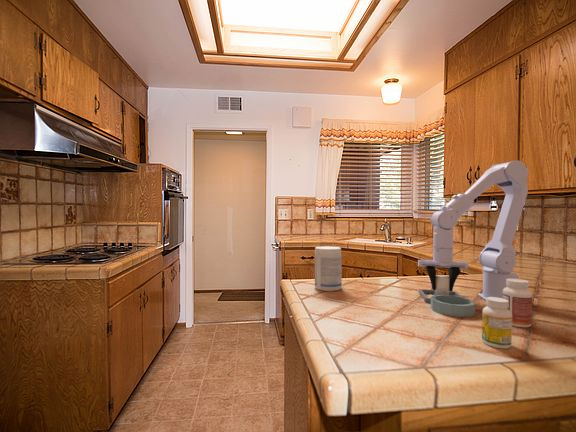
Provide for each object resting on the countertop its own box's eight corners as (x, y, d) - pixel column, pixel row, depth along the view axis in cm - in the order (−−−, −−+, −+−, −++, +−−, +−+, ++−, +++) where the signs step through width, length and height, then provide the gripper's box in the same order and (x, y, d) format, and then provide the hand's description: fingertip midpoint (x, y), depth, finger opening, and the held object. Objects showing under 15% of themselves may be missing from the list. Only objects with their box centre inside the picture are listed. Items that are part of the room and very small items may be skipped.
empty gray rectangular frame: (456, 294, 108) (456, 291, 108) (468, 305, 96) (468, 301, 96) (418, 292, 111) (418, 288, 111) (425, 302, 99) (425, 298, 99)
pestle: (447, 293, 105) (447, 275, 105) (451, 297, 101) (451, 278, 101) (433, 292, 106) (433, 274, 106) (436, 296, 102) (436, 277, 102)
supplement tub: (346, 288, 115) (347, 247, 114) (330, 293, 108) (330, 250, 108) (325, 284, 122) (326, 245, 121) (308, 288, 115) (309, 247, 115)
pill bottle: (536, 325, 80) (537, 281, 80) (525, 330, 77) (526, 284, 77) (508, 318, 85) (509, 276, 85) (497, 322, 82) (498, 279, 82)
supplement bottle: (509, 351, 65) (511, 304, 65) (479, 344, 68) (480, 299, 68) (512, 343, 69) (514, 299, 69) (483, 336, 73) (485, 294, 72)
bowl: (467, 306, 96) (467, 296, 95) (480, 318, 85) (480, 307, 85) (427, 303, 98) (427, 293, 98) (435, 314, 87) (436, 303, 87)
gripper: (421, 248, 101) (420, 291, 101) (471, 250, 98) (470, 294, 98) (417, 245, 108) (416, 286, 108) (464, 247, 105) (463, 289, 105)
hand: (441, 289), depth 104 cm, fingers closed on pestle, 4 cm apart
